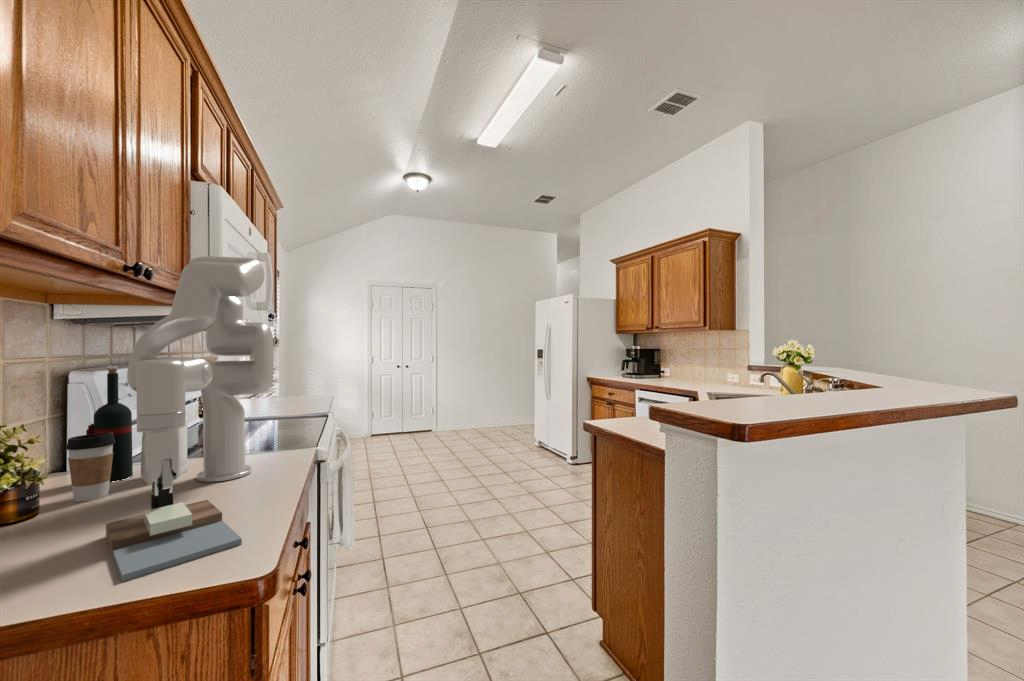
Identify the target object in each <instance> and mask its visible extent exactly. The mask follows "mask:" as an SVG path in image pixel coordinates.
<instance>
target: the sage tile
mask: <svg viewBox="0 0 1024 681" xmlns="http://www.w3.org/2000/svg"><path fill="white" fill-rule="evenodd" d="M186 505H187V504H185V502H178V503H173V505H168V506H164V507H159V508H155V509H151V508H150V509H147V510H143V515H144V523H145V525H146V527H147V530H148V532H149V534H150V536H151V535H155V534H159V533H163V532H167V531H171V530H175V529H179V528H182V527H186V526H190V525H192V513H191V512H190V511H189V509H188V508H187V507H186Z"/></svg>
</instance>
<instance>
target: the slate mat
mask: <svg viewBox="0 0 1024 681" xmlns="http://www.w3.org/2000/svg"><path fill="white" fill-rule="evenodd" d="M242 542H243V538H242V537H241V536H240V535H239V534H238V533H237V532H235V531H234V530H233V529H232V528H231V527H230V526H229V524H227V523H226V522H225V521H224V520H222V521H219V522H215V523H212V524H208V525H204V526H201V527H197V528H193V529H189V530H186V531H182V532H178V533H175V534H171V535H167V536H164V537H160V538H156V539H153V540H149V541H145V542H141V543H138V544H134V545H130V546H127V547H123V548H119V549H116V550H113V555H112V557H113V560H114V563H115V565H116V568H117V571H118V574H119V577H120V579H121V582H122V583H123V582H126V581H129V580H131V579H136V578H139V577H141V576H146V575H148V574H150V573H155V572H157V571H160V570H164V569H167V568H170V567H172V566H173V567H174V566H176V565H180V564H183V563H185V562H189V561H192V560H195V559H198V558H203V557H205V556H208V555H211V554H215V553H218V552H221V551H224V550H228V549H231V548H234V547H237V546H240V545H243V543H242Z"/></svg>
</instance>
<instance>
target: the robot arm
mask: <svg viewBox="0 0 1024 681" xmlns="http://www.w3.org/2000/svg"><path fill="white" fill-rule="evenodd" d="M264 279H265V269H264V266H263V264H262V263H261V262H260V260H258V259H256V258H251V257H235V256H234V257H233V256H211V255H210V256H209V255H208V256H198V257H194V258H192V259H191V260H189V262H188V264H187V265H185V266H184V267H183V269H182V271H181V274H180V277H179V280H178V284H177V287H176V291H175V294H174V299H173V303H172V306H171V311H170V313H169V314H168V315H166V316H165V317H163V318H161V319H159V321H157V322H155V323H154V324H153V325H152V326H150V328H148V329H146V331H145V332H144V333H143V334H141V335H140V337H139V338H138V340H137V341H136V342H135V345H134V347H133V348H132V349H133V350H132V353H131V356H130V358H129V359H130V360H129V363H128V367H127V372H126V379H127V384H128V386H129V387H130V388H131V390H133V391H134V392H136V432H137V433H142V437H141V452H140V453H141V454H140V455H141V457H140V477H141V478H142V480H143V481H144V482H145V483H146V484H147V485H151V495H150V509H155V508H159V507H164V506H168V505H173V504H174V492H173V490H174V488H173V486H174V480H177V479H178V478H179V477H180V476H179V474H180V442H179V440H180V438H179V429H180V428H183V427H185V426H186V424H185V417H186V393H190V392H191V393H192V392H193V393H194V392H198V391H200V394H201V399H202V400H201V401H202V412H203V413H202V415H203V416H202V418H203V419H202V421H203V422H202V425H203V426H202V427H203V428H202V430H203V431H202V432H203V433H202V434H203V436H202V438H203V440H202V442H203V451H202V452H203V471H200V472H199V473H197V474H196V481H198V482H201V483H214V482H215V483H216V482H218V483H219V482H223V481H224V482H226V481H230V480H234V479H239V478H243V477H245V476H246V475H249V474H250V473H252V466H250V465H247V464H246V453H245V452H246V443H245V442H246V440H245V439H246V438H245V437H246V431H245V430H246V427H245V425H246V424H245V423H246V422H245V420H246V419H245V416H246V415H245V408H244V406H243V405H242V403H241V402H240V401H239V400H238V398H237V397H236V396H243V395H244V396H245V395H261V394H267V393H268V392H269V391H270V390H271V388H272V387H273V381H274V379H273V378H274V337H273V332H272V330H271V327H270V326H269V325H268V324H267V323H264V322H259V321H249V322H248V321H244V306H243V303H242V301H241V300H240V299H239V298H244V297H245V298H246V297H248V296H250V295H252V294H253V293H255V292H256V291H258V290H259V289H260V288H261V287H262V286H263V284H264V281H265V280H264ZM204 331H206V332H205V335H206V336H205V338H206V339H205V340H206V348H207V349H206V350H207V351H208V352H209V353H210V354H211V355H213V356H219V357H220V356H221V357H238V356H239V357H242V356H243V357H245V356H246V357H247V356H248V357H249V356H250V357H252V359H253V360H216V361H213V362H212V361H211V362H208V361H207V360H206V359H204V358H201V357H192V356H191V357H189V356H187V357H186V356H185V357H184V356H183V357H182V356H181V357H175V356H173V357H171V356H170V357H169V356H167V357H162V356H161V357H158V356H159V354H160V353H161V352H162V351H163V350H164V349H165V348H167V347H168V346H170V345H171V344H173V343H175V342H177V341H180V340H182V339H185V338H187V337H188V338H189V337H190V336H193V335H197V334H199V333H202V332H204ZM173 478H174V479H173Z"/></svg>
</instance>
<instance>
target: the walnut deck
mask: <svg viewBox="0 0 1024 681" xmlns="http://www.w3.org/2000/svg"><path fill="white" fill-rule="evenodd" d="M185 505H186V507H187V508H188V509H189V511H190V512H191V513H192V525H190V526H186V527H182V528H179V529H175V530H171V531H167V532H163V533H159V534H155V535H151V536H150V534H149V532H148V530H147V527H146V525H145V523H144V514H141V515H136V516H132V517H128V518H127V517H126V518H124V519H120V520H115V521H112V522H106V523H105V538H106V540H107V544H108V545H109V546H108V547H109V549H110V552H111V556H113V550H116V549H119V548H123V547H127V546H130V545H134V544H138V543H141V542H145V541H149V540H153V539H156V538H160V537H164V536H167V535H171V534H175V533H178V532H182V531H186V530H189V529H193V528H197V527H201V526H204V525H208V524H212V523H215V522H219V521H223V512H222V511H221V510H220V509H218V507H216V506H215V505H214V504H213V503H212V502H211V501H209V500H208V499H204V500H200V501H197V502H192V503H188V504H187V503H186V504H185Z"/></svg>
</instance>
